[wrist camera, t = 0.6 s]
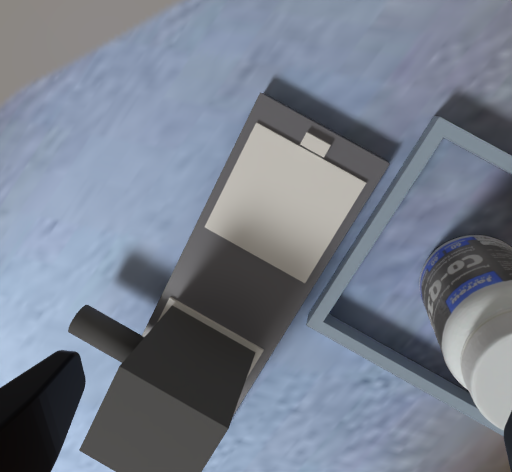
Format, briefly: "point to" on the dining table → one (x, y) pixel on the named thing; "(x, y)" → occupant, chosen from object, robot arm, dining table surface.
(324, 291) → the grey square frame
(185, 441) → the grey block with peg
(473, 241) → the pill bottle
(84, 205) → the dining table surface
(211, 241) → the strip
